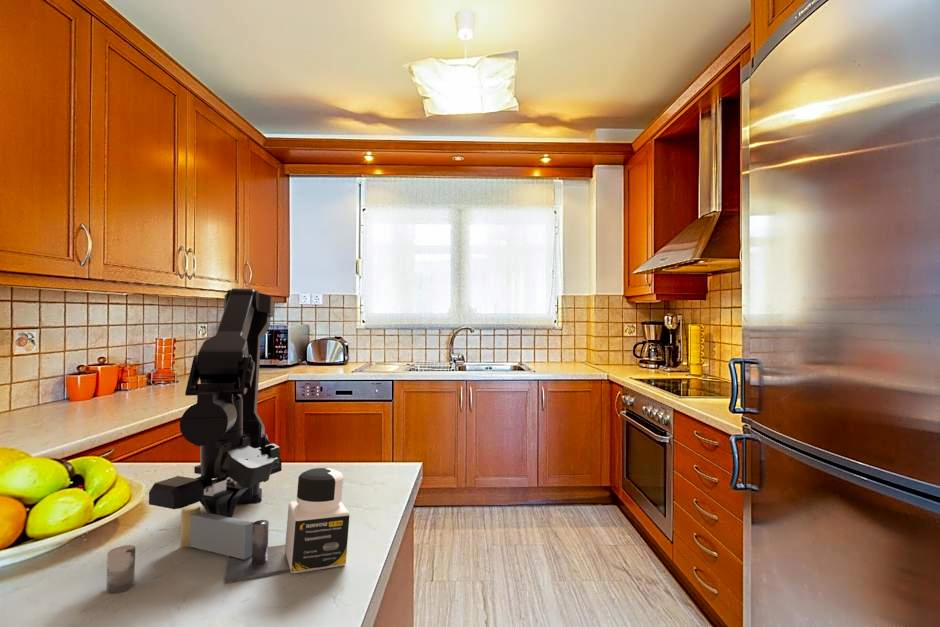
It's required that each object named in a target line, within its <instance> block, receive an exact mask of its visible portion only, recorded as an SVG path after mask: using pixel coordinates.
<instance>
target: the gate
mask: <svg viewBox="0 0 940 627" xmlns="http://www.w3.org/2000/svg"><path fill="white" fill-rule="evenodd" d="M180 515H181V517H180V523H181V524H180V546H181V547H184V548H186V547H191V548H196V549H200V550H203V551H208V552H211V553H212V552H213V553H215V554H220V555H225V556H228V557H229V556H232V557H236V558H240V559H244V560H245V559H246V558H248V557H250V556H252V533H253V523H254V522H255V521H249V520H244V519H240V518H235V517H232V518H231V517H226V516H221V515H216V514H211V513H207V511H202V510H201V506H200V505H189V506H186V507H184V508H181V514H180Z"/></svg>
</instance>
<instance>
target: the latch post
mask: <svg viewBox="0 0 940 627" xmlns="http://www.w3.org/2000/svg"><path fill="white" fill-rule="evenodd" d="M106 562H107V564H106V588H105V589H106V591H105V592H106V593H107V594H119V593H123V592H125V591H129V590H130V589H132V588H133V587H134V586H135V575H136V572H135V569H136V568H135V567H136V546H135V545H132V544H130V545H121V546H117V547H114V548H112V549H110V550H109V551H107V561H106Z"/></svg>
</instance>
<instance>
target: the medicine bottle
mask: <svg viewBox="0 0 940 627" xmlns="http://www.w3.org/2000/svg"><path fill="white" fill-rule="evenodd" d="M297 479H298V480H297V489H296V490H297V493H296V500H292V501H290V502H288V510H287V520H286V530H285V531H286V532H285V533H286V534H285V544H284V545H285V553H286V557H287V560H288V563H289V567H290V570H291V572H290V573H291V574H298V573H304V572H312V571H317V570H324V569H333V568H338V567H343V566H345V565H346V564H347V556H348V543H349V542H348V540H349V526H350V512H349V510H348V509H347V508H346V506H345V505H344V503H343V501H342V500H343V499H342V498H343V484H344V475H343V473H342V472H340V471H338V470H336V469H333V468H328V467H317V468H310V469H308V470H305V471H303V472H301V474H299V476H298V478H297Z"/></svg>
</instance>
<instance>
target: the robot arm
mask: <svg viewBox="0 0 940 627" xmlns="http://www.w3.org/2000/svg"><path fill="white" fill-rule="evenodd" d="M274 301H275V300H274V298H273V297H272V296H271V295H269V294H267V293H261V292H260V291H259V290H256V289H254V288H235V287H234V288H231V289H227V290H226V294H224V301H223V302H224V303H223V313H222V316H221V319H220V322H219V325H218V327H217V331H216V333H215V335H213V336H211V337H210V338H207V339H206V340H204V341H203V342H202V345H200V348H199V350H198V352H197V354H195V355H194V356H193V359H192V362H191V368H190V371H189V375H188V380H187V385H186V388H185V393H184V394H185V396H187V397H188V396H189V397H190V396H192V397H193V396H196V402H195V404H194V403H193V404H192V405H191V406H189V407H188V408H187V409H186V410H185V411H184V413H183V414H182V416H181V419H180V420H179V430H180V433H181V435H182V436H183V438H184V440H186V441H187V442H188V443H189V444H192V445H193V446H195V447H200V448H199V449H200V453H199V454H200V461H199V462H200V464H199V465H195V466H194V474H196V475H200V476H198V477H195V478H194V477H189V476H188V477H187V476H180V475H177V476H173V477H170V478H167V479H164V480H161V481H158V482H155V483H154V484H152V487H150V489H149V492H148V505H151V506H155V507H160V508H166V509H171V510H179V509H183V508H185V507H189V506H193V505H194V504H197V503H199V502H200V504H201V505H202V507H203V508H204V511H205V512H206V513H211V514H216V515H221V516H226V517H231V518H233V515H234V512H235V510H236V507H237V505H238V504H246V503H255V502H256V503H257V502H261V501H262V500H263V499H262V498H263V495H262V494H263V491H262V490H263V489H262V487H261V486H260V484H261V483H266V482H268V481H269V480H270V477H271V476H272V475H273V474H276V473H279V472H281V471H282V458H281V451H280V446H279V445H277V444H275V443H271V441H270V440H269V438H268V434H267V433H265V430H266V429H265V428H266V427H265V424H264V423H263V421H262V418H261V417H260V415H259V414H258V400H259V399H258V396H259V394H258V393H259V379H260V378H259V377H260V361H261V344H262V343H261V340H262V338H263V336H264V335H265V334H266V333H267V331H268V330H269V328H270V327H271V318H274V315H275V302H274ZM199 382H200V383H199ZM260 487H261V488H260Z"/></svg>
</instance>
